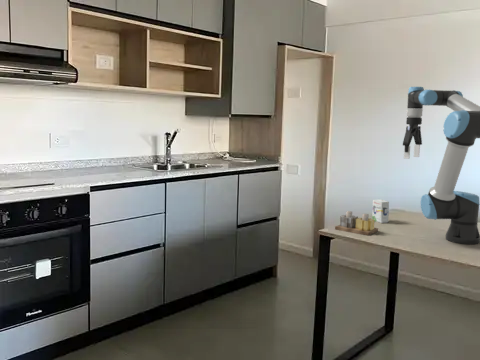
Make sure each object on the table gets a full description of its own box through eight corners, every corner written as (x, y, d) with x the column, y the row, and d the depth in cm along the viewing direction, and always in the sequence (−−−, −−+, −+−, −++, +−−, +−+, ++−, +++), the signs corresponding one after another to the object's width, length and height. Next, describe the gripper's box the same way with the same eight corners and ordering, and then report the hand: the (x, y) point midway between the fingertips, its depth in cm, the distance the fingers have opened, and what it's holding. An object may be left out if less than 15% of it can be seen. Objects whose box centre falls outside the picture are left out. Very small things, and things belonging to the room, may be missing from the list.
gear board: (378, 231, 253) (379, 213, 252) (367, 235, 244) (368, 217, 243) (346, 225, 264) (347, 208, 263) (335, 229, 255) (335, 212, 254)
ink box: (388, 222, 273) (389, 201, 272) (380, 223, 272) (382, 202, 270) (379, 219, 281) (380, 198, 280) (371, 220, 279) (372, 199, 278)
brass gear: (362, 226, 257) (363, 216, 256) (375, 229, 251) (376, 219, 250) (353, 228, 251) (354, 218, 251) (366, 231, 246) (367, 221, 245)
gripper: (416, 116, 270) (413, 155, 273) (397, 116, 251) (395, 158, 254) (430, 117, 265) (427, 156, 268) (412, 117, 246) (409, 159, 249)
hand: (411, 157), depth 261 cm, fingers open, 13 cm apart
